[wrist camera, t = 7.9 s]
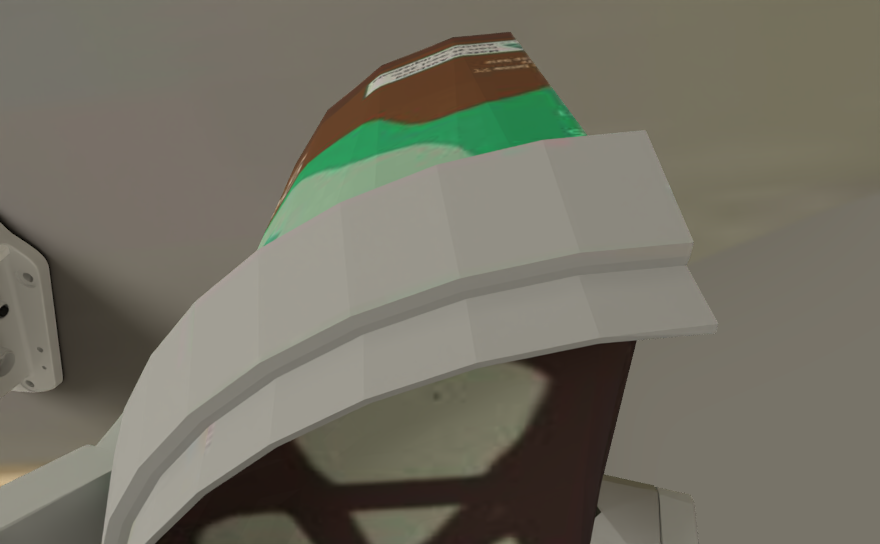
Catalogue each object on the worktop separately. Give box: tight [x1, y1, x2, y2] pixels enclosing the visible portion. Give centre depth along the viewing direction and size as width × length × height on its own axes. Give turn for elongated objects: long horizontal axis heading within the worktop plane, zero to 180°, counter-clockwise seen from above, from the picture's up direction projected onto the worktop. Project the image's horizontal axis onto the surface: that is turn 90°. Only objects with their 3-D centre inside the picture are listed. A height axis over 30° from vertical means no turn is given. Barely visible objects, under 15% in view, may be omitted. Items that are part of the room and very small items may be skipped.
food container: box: [101, 32, 718, 544], centre depth 12 cm, size 12×6×10 cm, turn 179°
